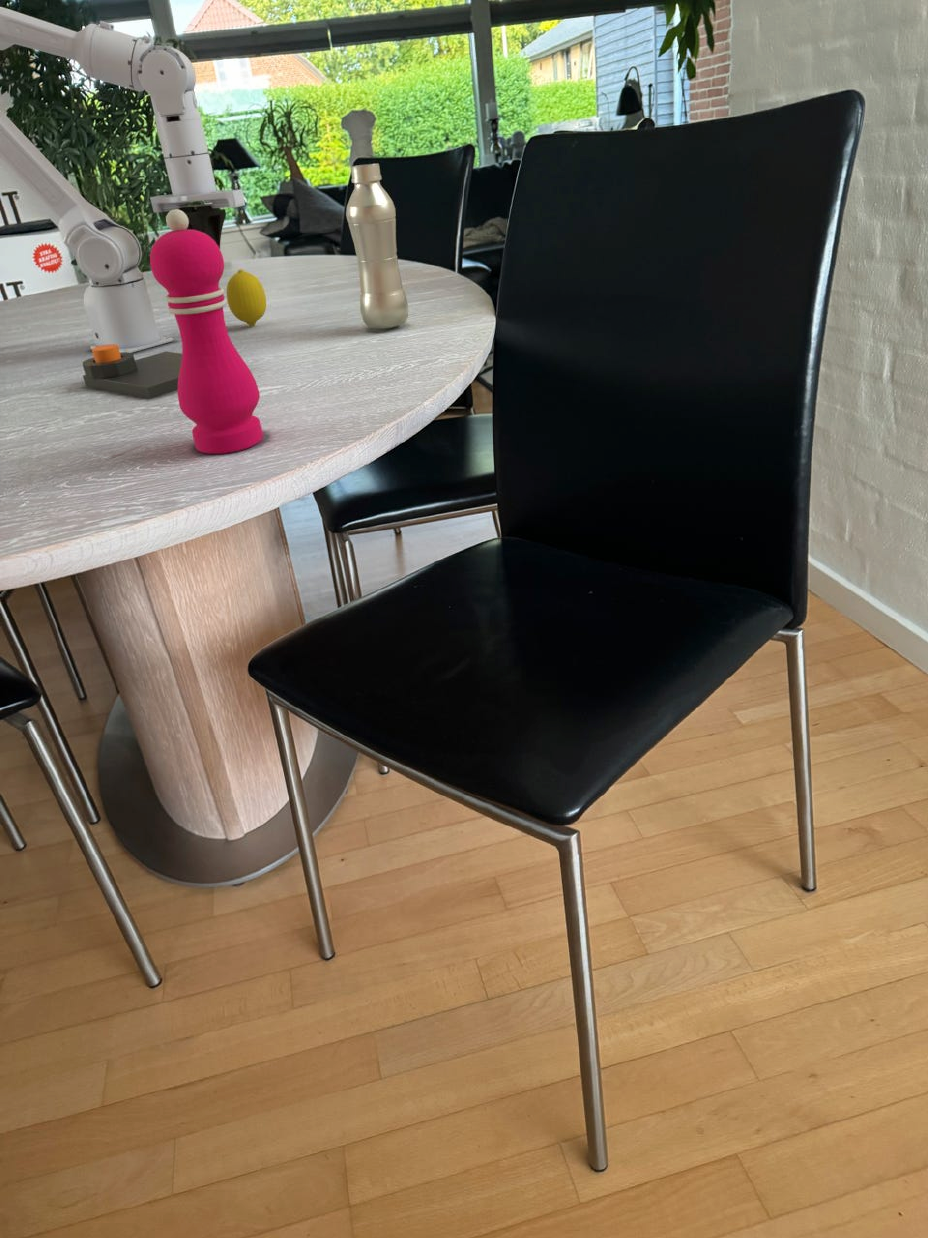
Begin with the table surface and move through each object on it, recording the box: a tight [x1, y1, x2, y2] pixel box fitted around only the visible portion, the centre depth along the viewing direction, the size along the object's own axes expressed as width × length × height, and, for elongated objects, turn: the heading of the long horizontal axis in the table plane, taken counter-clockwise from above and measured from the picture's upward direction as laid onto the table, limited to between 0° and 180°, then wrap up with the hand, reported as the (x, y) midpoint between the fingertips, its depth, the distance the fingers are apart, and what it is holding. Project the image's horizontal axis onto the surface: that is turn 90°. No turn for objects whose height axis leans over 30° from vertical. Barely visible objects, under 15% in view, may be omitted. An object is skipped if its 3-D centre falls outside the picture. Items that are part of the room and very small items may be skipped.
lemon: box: [226, 269, 267, 327], centre depth 127 cm, size 6×6×8 cm
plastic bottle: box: [345, 163, 409, 330], centre depth 114 cm, size 6×7×20 cm
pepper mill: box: [149, 209, 264, 455], centre depth 76 cm, size 7×7×20 cm
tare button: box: [91, 344, 121, 363], centre depth 104 cm, size 3×3×2 cm
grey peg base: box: [82, 351, 182, 400], centre depth 105 cm, size 14×12×3 cm
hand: (211, 266), depth 120 cm, fingers closed
